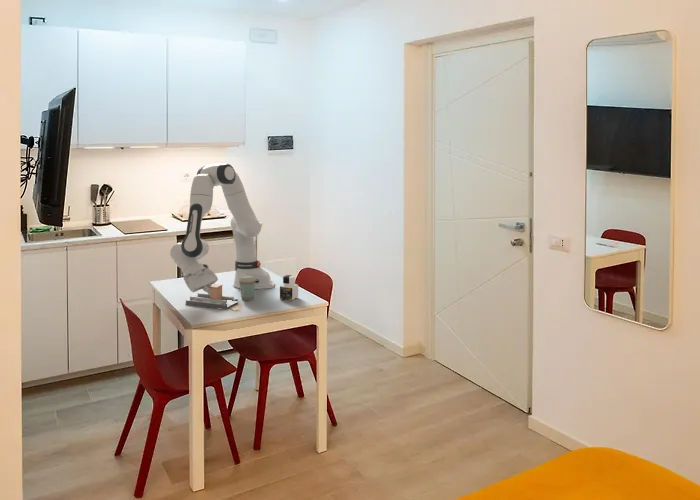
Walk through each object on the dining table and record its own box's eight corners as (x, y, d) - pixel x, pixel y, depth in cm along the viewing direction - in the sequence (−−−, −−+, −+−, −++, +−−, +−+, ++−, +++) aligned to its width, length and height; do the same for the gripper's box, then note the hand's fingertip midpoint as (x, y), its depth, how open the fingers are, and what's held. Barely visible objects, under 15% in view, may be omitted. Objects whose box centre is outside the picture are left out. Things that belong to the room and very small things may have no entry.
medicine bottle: (279, 299, 317) (279, 276, 315) (286, 296, 323) (285, 273, 321) (292, 301, 314) (292, 278, 312) (298, 297, 321) (298, 275, 319)
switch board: (185, 304, 306) (185, 297, 305) (199, 298, 317) (199, 291, 316) (225, 309, 299) (224, 302, 298) (237, 302, 310) (237, 296, 309)
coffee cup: (241, 296, 321) (241, 274, 319) (257, 297, 320) (257, 274, 318) (237, 301, 313) (236, 278, 310) (253, 301, 312) (253, 278, 310)
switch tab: (210, 300, 305) (209, 286, 304) (215, 298, 310) (215, 284, 308) (217, 301, 304) (216, 287, 302) (222, 298, 308) (222, 284, 307)
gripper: (185, 272, 297) (204, 294, 296) (209, 263, 316) (226, 284, 315) (178, 280, 300) (196, 302, 299) (202, 271, 319) (219, 292, 317)
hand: (212, 293), depth 307 cm, fingers closed, pressing on switch tab
